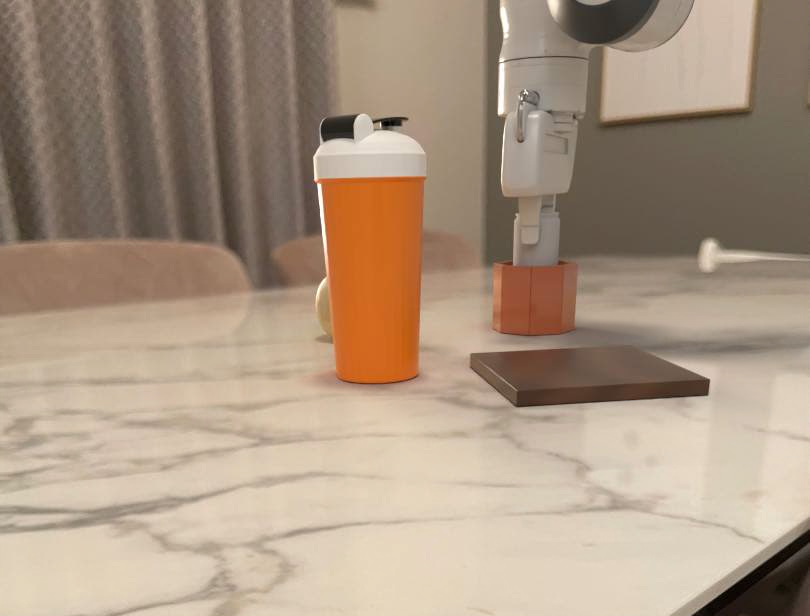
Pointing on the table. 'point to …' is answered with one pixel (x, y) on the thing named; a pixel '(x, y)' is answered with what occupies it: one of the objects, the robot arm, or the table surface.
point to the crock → (534, 298)
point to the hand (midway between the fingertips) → (536, 241)
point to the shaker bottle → (372, 244)
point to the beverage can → (544, 249)
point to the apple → (324, 307)
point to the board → (585, 375)
